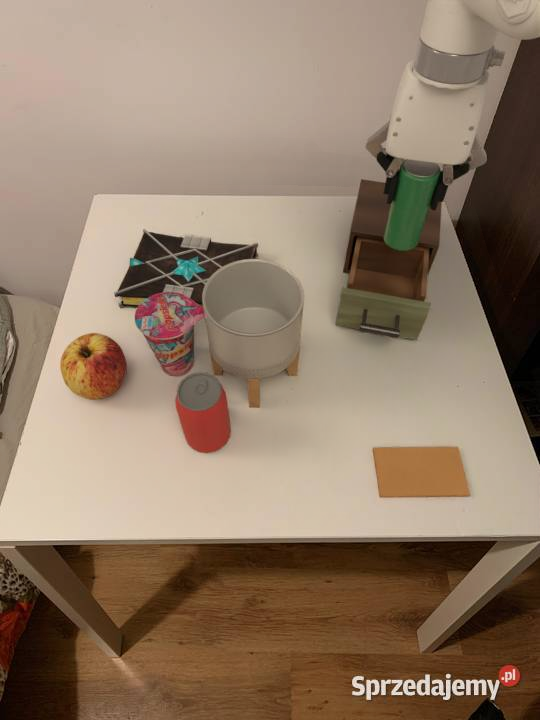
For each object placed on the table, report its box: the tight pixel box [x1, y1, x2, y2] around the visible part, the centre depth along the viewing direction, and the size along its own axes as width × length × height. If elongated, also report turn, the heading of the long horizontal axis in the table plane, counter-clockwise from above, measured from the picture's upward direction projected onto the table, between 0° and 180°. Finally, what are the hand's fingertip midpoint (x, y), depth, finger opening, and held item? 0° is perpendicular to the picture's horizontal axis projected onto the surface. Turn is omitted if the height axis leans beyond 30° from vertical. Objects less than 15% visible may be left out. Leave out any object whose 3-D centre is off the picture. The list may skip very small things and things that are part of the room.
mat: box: [372, 446, 471, 499], centre depth 67 cm, size 12×7×1 cm, turn 91°
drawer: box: [335, 237, 432, 341], centre depth 80 cm, size 18×13×8 cm
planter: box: [202, 258, 305, 409], centre depth 69 cm, size 13×13×18 cm
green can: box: [383, 159, 442, 251], centre depth 68 cm, size 5×5×12 cm
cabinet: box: [342, 178, 443, 275], centre depth 88 cm, size 15×15×10 cm
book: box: [113, 228, 259, 309], centre depth 86 cm, size 22×17×5 cm
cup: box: [134, 292, 205, 377], centre depth 73 cm, size 9×8×12 cm
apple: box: [59, 332, 128, 400], centre depth 71 cm, size 9×9×10 cm
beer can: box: [174, 371, 232, 454], centre depth 66 cm, size 7×7×12 cm
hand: (411, 199), depth 67 cm, fingers closed on green can, 5 cm apart
